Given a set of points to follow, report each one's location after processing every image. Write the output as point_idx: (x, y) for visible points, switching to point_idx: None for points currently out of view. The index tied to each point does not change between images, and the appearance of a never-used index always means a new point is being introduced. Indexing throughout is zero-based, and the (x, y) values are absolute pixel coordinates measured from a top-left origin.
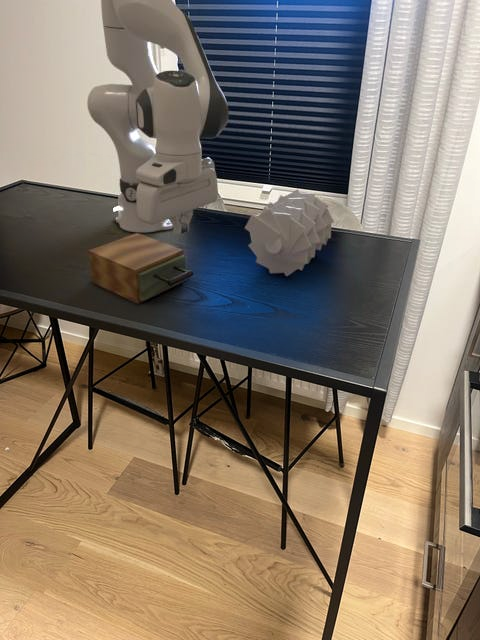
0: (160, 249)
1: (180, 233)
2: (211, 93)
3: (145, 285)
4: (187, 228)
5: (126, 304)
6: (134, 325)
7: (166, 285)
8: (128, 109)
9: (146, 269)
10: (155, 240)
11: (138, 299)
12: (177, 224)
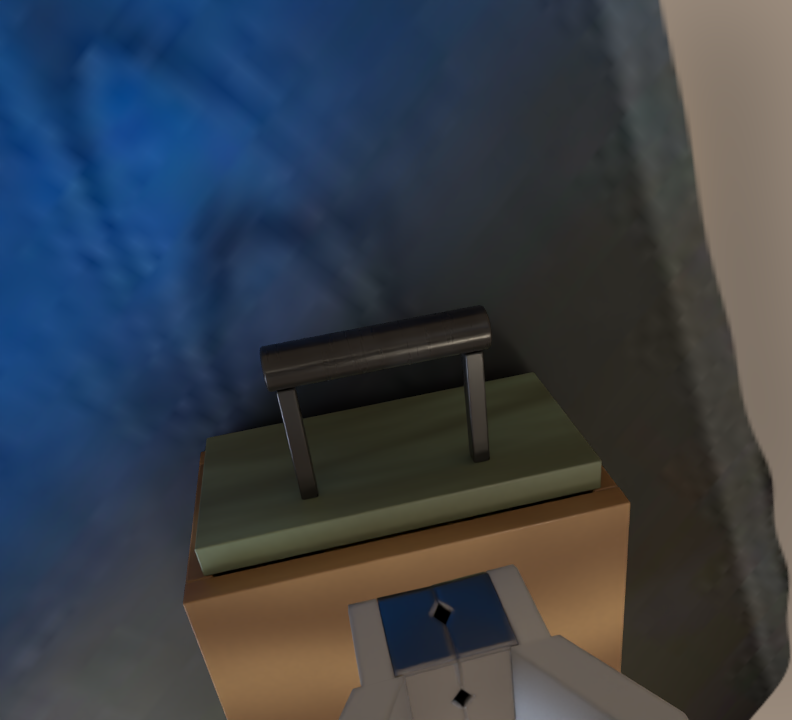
0: (313, 663)
1: (504, 569)
2: None
3: (542, 420)
4: (384, 623)
5: (575, 408)
6: (687, 221)
7: (368, 420)
8: None
9: None
10: None
11: None
12: (610, 667)
